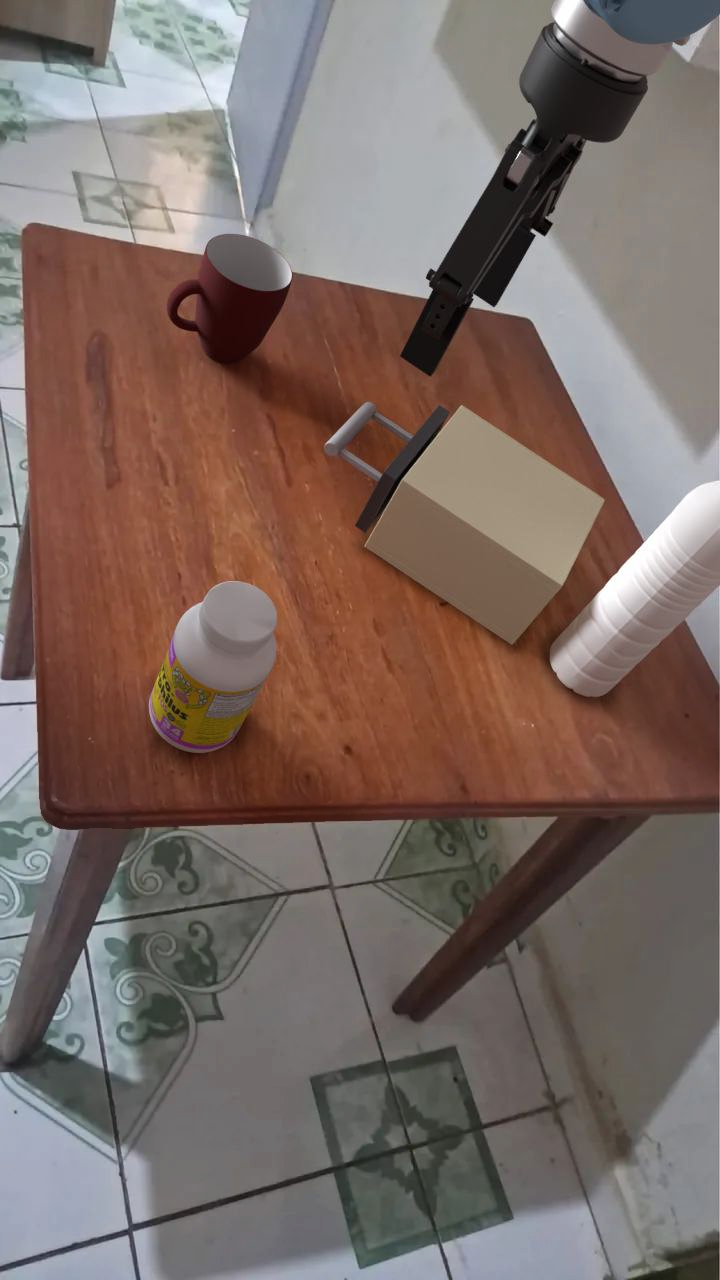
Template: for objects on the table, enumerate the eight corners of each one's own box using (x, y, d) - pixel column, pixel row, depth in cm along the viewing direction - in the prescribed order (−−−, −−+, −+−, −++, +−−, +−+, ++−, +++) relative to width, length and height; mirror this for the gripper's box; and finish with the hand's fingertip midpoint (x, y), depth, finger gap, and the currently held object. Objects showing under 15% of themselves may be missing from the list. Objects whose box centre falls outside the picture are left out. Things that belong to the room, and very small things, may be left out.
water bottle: (534, 645, 84) (713, 442, 66) (585, 631, 88) (769, 436, 69) (587, 728, 81) (791, 538, 62) (638, 710, 84) (846, 527, 66)
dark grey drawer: (298, 488, 84) (323, 432, 79) (358, 423, 92) (385, 369, 87) (492, 617, 83) (530, 569, 78) (535, 540, 91) (572, 492, 86)
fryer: (363, 546, 84) (402, 479, 77) (423, 470, 93) (461, 404, 86) (512, 645, 83) (562, 586, 77) (557, 559, 92) (605, 499, 86)
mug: (178, 385, 87) (203, 294, 80) (143, 326, 90) (164, 232, 83) (276, 376, 93) (308, 290, 85) (240, 321, 96) (268, 233, 88)
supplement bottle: (136, 681, 68) (175, 569, 58) (224, 671, 71) (274, 563, 61) (159, 764, 64) (203, 660, 55) (250, 750, 68) (307, 649, 58)
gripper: (596, 133, 50) (429, 428, 66) (692, 44, 67) (540, 297, 82) (478, 55, 50) (339, 368, 66) (603, -14, 67) (469, 249, 83)
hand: (451, 329), depth 74 cm, fingers open, 13 cm apart
